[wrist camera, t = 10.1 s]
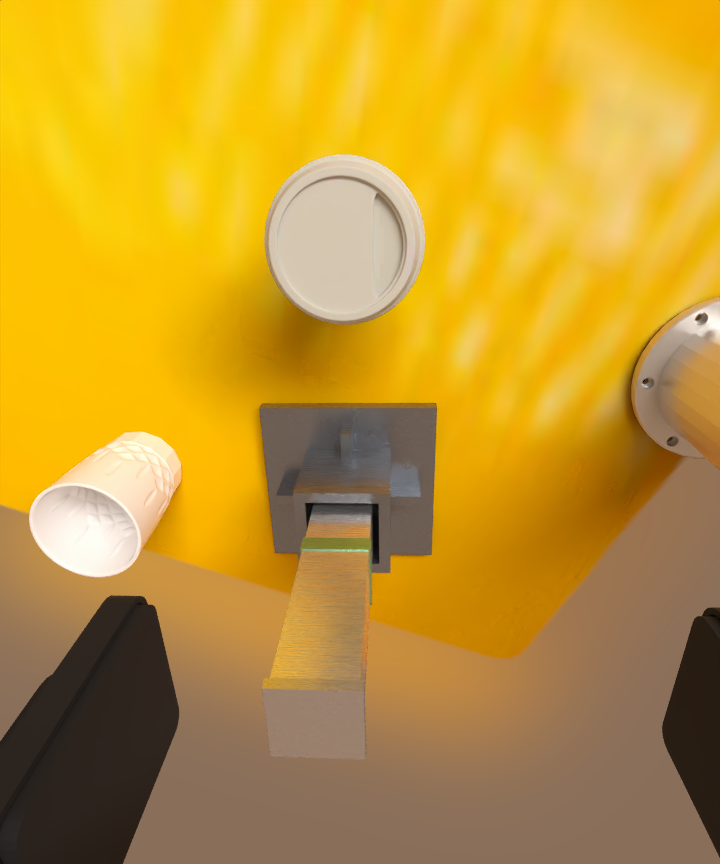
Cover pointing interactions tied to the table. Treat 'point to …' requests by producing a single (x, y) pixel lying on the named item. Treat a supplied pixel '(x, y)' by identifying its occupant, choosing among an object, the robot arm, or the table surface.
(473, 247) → the table surface
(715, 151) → the table surface
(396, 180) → the coffee cup
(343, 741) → the post
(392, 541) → the stand base
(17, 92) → the table surface
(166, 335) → the table surface
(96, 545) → the white cup
